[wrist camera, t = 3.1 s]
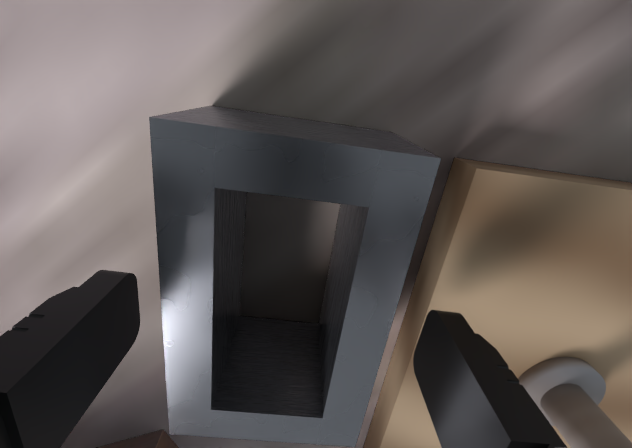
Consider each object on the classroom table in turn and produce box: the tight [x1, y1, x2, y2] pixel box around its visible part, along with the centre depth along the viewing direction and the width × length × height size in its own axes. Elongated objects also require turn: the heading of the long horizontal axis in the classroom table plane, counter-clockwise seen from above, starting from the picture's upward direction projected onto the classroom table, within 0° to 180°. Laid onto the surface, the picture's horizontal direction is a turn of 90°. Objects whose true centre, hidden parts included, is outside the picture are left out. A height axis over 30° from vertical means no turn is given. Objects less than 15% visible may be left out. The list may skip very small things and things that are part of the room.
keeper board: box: [363, 158, 632, 448], centre depth 10 cm, size 16×12×8 cm
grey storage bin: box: [149, 106, 441, 447], centre depth 10 cm, size 9×6×4 cm, turn 172°
